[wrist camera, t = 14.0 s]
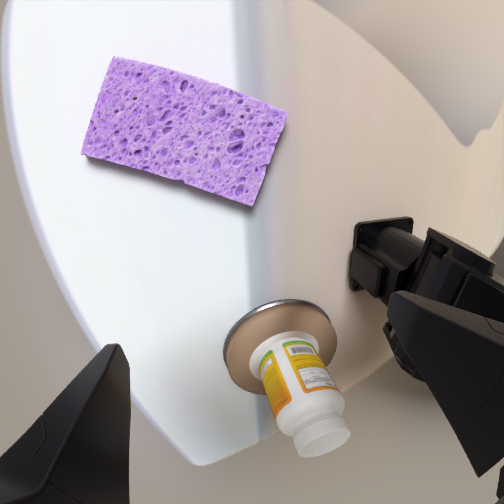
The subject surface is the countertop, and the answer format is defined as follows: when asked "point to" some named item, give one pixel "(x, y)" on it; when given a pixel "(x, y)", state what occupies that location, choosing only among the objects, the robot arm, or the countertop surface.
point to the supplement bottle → (303, 397)
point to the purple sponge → (183, 129)
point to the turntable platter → (276, 339)
